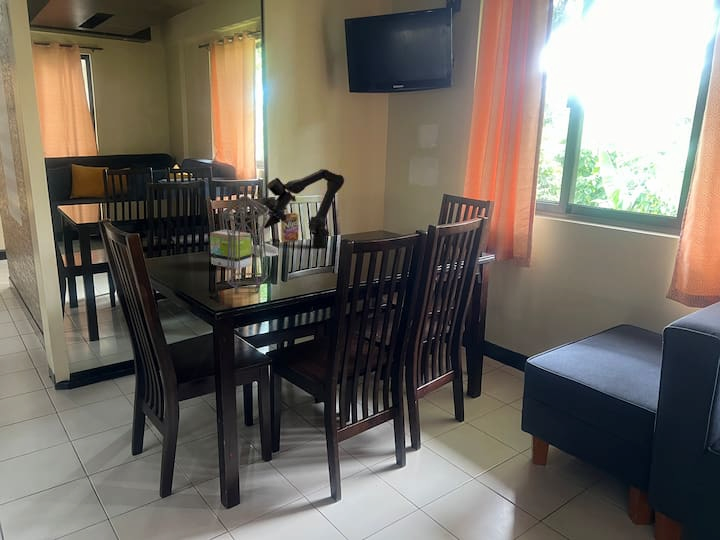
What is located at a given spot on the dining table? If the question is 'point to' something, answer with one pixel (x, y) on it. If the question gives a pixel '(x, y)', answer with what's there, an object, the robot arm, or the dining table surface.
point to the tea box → (221, 249)
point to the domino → (267, 230)
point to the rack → (268, 248)
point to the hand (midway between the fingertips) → (261, 226)
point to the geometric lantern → (227, 212)
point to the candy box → (290, 227)
